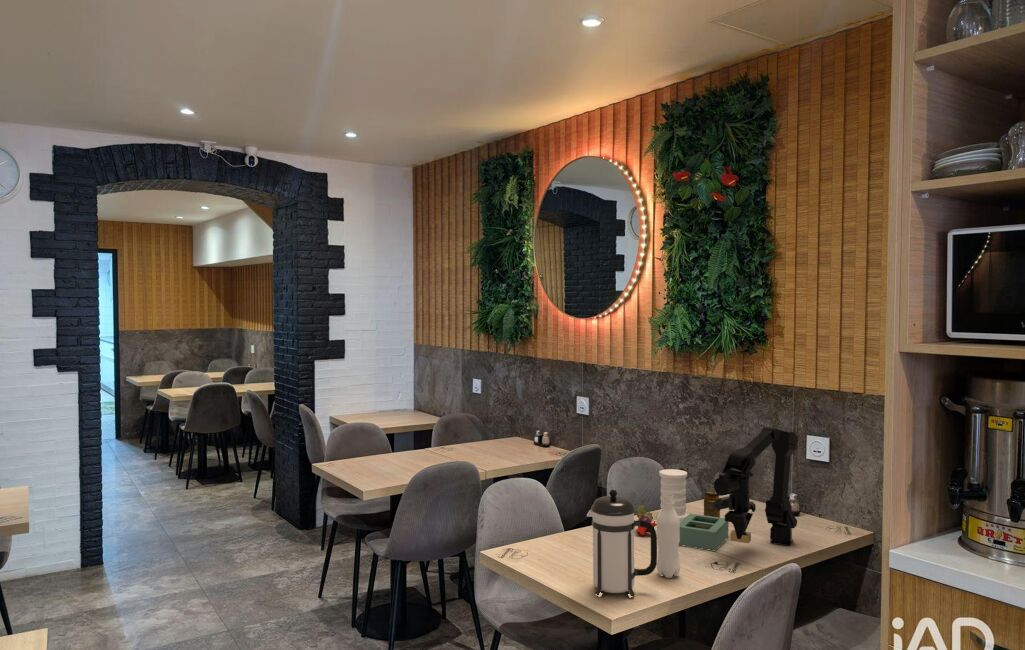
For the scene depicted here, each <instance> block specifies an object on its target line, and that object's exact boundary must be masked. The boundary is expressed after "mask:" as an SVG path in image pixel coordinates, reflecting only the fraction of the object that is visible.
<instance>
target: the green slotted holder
mask: <svg viewBox="0 0 1025 650" xmlns="http://www.w3.org/2000/svg"><path fill="white" fill-rule="evenodd" d="M696 525H699V526H706V527H711V528H710V529H709V530H707V529H700V528H696ZM727 537H728V538H729V522H726V521H725V517H720V518H719V517H712V516H705V515H704V514H703V515H702V514H698V513H697V514H696V513H689V514H688V516H687V517H686V518H684V519H683V520H682V521H680V541H679V545H678V546H681V545H685V546H684V547H687V546H691V547H690V548H693V547H697V548H696V549H699V548H703V549H702V550H705V549H710V550H715V551H714V552H717V550H718V549H719V548H720V547H721V546H722V544H723V543H725V541H726V540H727V539H728V538H727ZM726 538H727V539H726ZM725 539H726V540H725ZM720 545H721V546H720ZM719 546H720V547H719ZM718 547H719V548H718ZM717 548H718V549H717ZM716 549H717V550H716ZM710 550H709V551H710Z"/></svg>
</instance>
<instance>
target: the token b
mask: <svg viewBox="0 0 1025 650" xmlns="http://www.w3.org/2000/svg"><path fill="white" fill-rule="evenodd" d="M729 537H730V539H729V540H730V542H738V543H744V544H750V542H751V541H752V540H751V539H752V532H749V531H745V532H743V535H742V537H741V539H737V536H736V532H735V529H732V530H731V531H730V534H729Z"/></svg>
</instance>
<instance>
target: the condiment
mask: <svg viewBox="0 0 1025 650" xmlns="http://www.w3.org/2000/svg"><path fill="white" fill-rule="evenodd" d="M719 498H720V495H719V494H718V493H717V492H716V491H715V490H707V491H705V492H704V499H703V515H705V516H712V517H719V518H721V510H720V511H717V510H716V507H714V501H715V500H716V499H719Z"/></svg>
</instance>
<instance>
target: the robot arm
mask: <svg viewBox="0 0 1025 650" xmlns="http://www.w3.org/2000/svg"><path fill="white" fill-rule="evenodd" d="M798 442H799V438H798V435H796V433H795V432H794V431H790V430H784V429H778V428H776V427H773V426H772V427H771V426H765V427H763V428H762V430H761V431H760V432H759V433H758V434H757V435H756V436H755V437H754V438H752V440H751V441H749V443H748V444H746V446H744V447H742V448H739V449H736V450H734V451H732V452H731V453H730V454H729V456H728V457H727V459H726V462H725V465H724V467H723V469H722V471H721V472H722V473H719V474H718V478H716V479H715V480H714V483H713V488H714V491H716V492H717V493H718V494H719V496H724V497H719V499H716V500H715V501H714V507H716V510H717V511H720V512H721V510H725V509H728V510H729V511H727V512H726V514H724V518H725V521H726V522H728V523H732V525H733V528H734V529H733V530H735V532H736V536H737V539H741V537H742V535H743V532H747V529H748V527H749V524H750V523H751V520H752V517H753V515H754V512H756V510H757V509H756V507H757V506H756V504H755V502H754V501H750V497H751V496H752V493H751V492H750V478H751V477H754V473H753V472H751V471H752V469H753V468H754V466H755V465H756V463H757V462H756V459H757V458H758V456H760V455H761V454H762V453H763V452H764V451H765V450H766V449H767V448H768V447H769V446H770V445H771V448H772V450H773V452H774V454H775V458H774V471H773V473H774V474H773V485H772V496H770V498H769V499H767V500H765V509H764V512H765V516H766V520H767V521H766V522H767V523H768V524H770V525H771V527H770V529H769V530H770V531H769V532H770V534H769V535H770V536H769V537H770V539H769V540H770V543H771V544H774V545H775V544H776V545H782V546H787V547H788V546H789V547H790V546H791V545H792V543H793V542H794V539H793V529H796V527H797V526H798V525H797V524H798V520H797V518H796V516H795V515H794V514H793V511H792V508H793V507H792V506H793V505H792V504H791V502H790V500H789V498H788V493H789V483H790V481H789V480H790V472H791V471H790V470H791V469H790V467H791V457H792V456H793V454H794V453H795V452H796V451H797V446H798ZM727 495H729V496H727ZM750 510H751V512H750Z"/></svg>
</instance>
